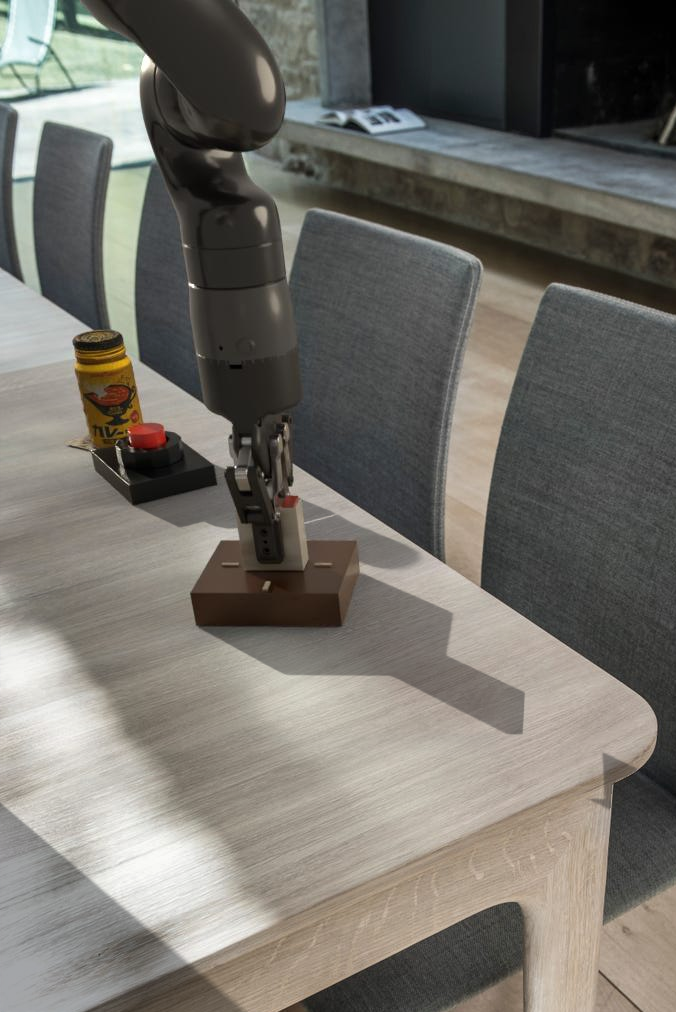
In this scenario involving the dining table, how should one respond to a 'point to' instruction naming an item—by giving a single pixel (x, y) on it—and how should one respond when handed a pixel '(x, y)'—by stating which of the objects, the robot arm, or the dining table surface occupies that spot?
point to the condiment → (105, 388)
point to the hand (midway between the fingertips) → (275, 553)
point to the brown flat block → (277, 588)
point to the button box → (153, 469)
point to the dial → (291, 538)
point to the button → (147, 435)
